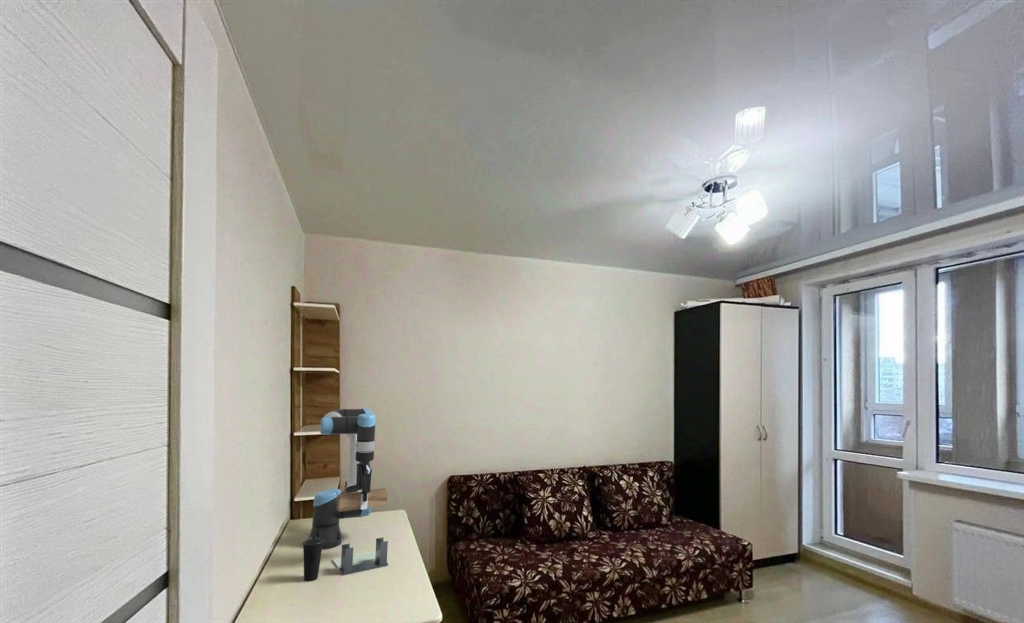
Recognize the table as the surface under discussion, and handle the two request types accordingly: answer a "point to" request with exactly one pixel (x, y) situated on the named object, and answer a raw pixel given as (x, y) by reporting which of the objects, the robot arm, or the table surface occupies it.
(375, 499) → the rail
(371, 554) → the mat
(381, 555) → the rack
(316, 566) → the drinking cup
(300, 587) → the table surface
